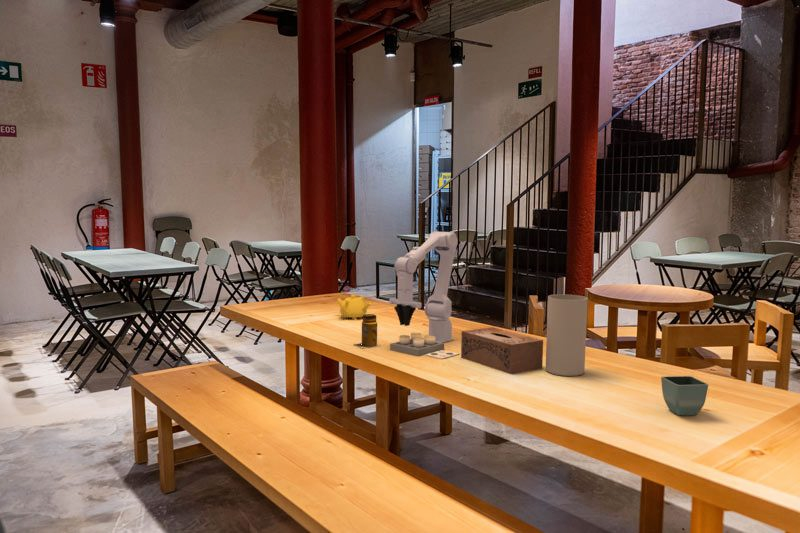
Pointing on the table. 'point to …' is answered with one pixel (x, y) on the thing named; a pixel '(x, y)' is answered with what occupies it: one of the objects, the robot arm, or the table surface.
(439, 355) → the card
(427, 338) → the button
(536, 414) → the table surface
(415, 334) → the button
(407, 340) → the button
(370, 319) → the condiment
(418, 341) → the button
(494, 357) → the tissue box cover
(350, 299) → the teapot
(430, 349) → the board
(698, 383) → the flower pot
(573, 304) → the cylinder vase
